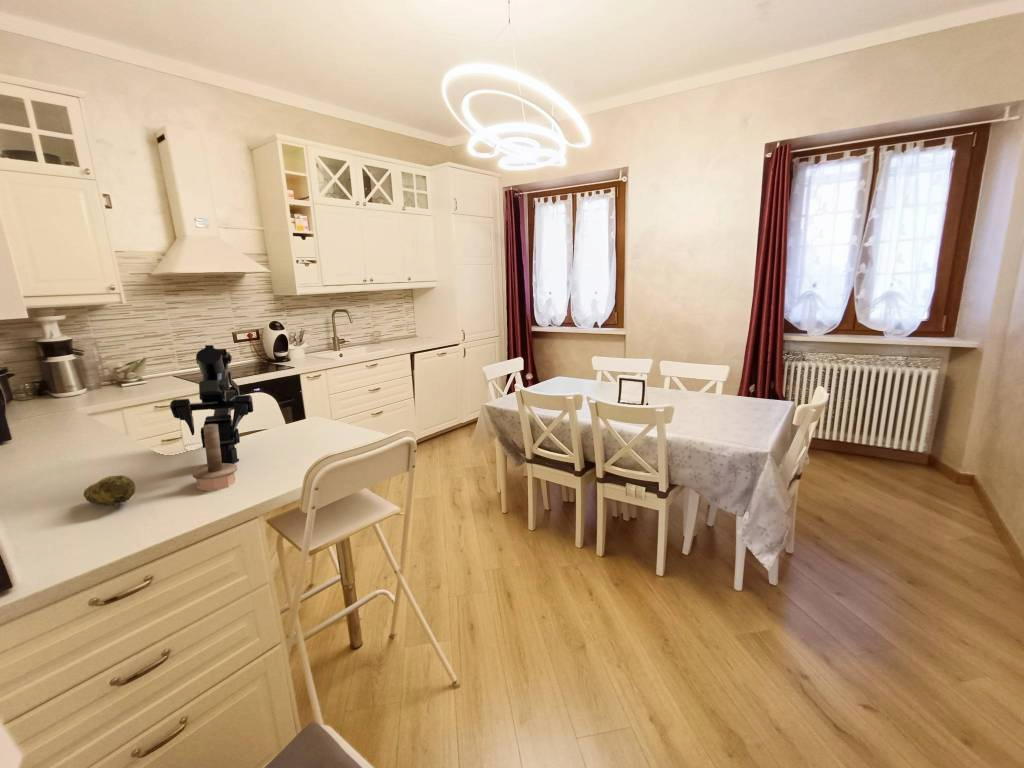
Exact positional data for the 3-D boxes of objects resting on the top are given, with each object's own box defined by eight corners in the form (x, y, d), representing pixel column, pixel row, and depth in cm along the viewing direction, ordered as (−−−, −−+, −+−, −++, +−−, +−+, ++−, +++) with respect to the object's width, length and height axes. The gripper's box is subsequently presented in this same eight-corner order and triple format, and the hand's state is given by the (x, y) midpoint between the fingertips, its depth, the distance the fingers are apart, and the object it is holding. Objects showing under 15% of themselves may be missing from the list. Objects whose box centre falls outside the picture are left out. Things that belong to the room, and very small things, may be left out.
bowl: (191, 490, 115) (189, 477, 115) (210, 478, 123) (209, 466, 122) (222, 490, 116) (221, 478, 115) (240, 478, 123) (239, 466, 123)
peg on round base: (183, 479, 114) (177, 430, 111) (208, 465, 123) (203, 420, 121) (223, 479, 114) (218, 431, 112) (244, 465, 124) (241, 420, 122)
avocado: (128, 492, 113) (124, 462, 112) (141, 508, 105) (137, 476, 104) (83, 503, 107) (78, 472, 105) (93, 521, 99) (88, 487, 97)
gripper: (167, 370, 117) (163, 420, 110) (249, 366, 126) (250, 413, 118) (176, 393, 126) (173, 442, 118) (252, 389, 134) (254, 434, 127)
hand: (213, 432), depth 120 cm, fingers open, 9 cm apart
